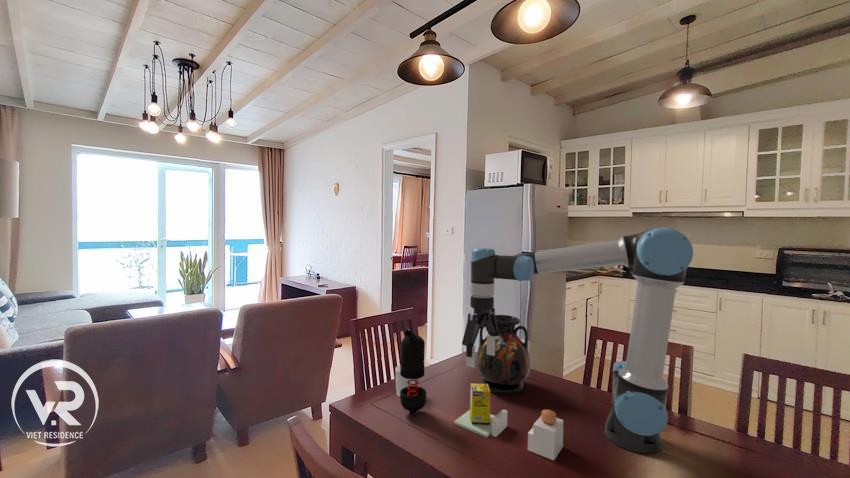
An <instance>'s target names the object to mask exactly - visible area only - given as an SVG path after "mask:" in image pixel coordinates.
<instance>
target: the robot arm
mask: <svg viewBox="0 0 850 478" xmlns="http://www.w3.org/2000/svg"><path fill="white" fill-rule="evenodd" d="M693 256H694V248H693V244H692V243H691V240H690V239H689V238H688V237H687V236H686V235H685V234H684V233H683V232H680V231H679V230H677V229H674V228H671V227H667V226H666V227H661V226H660V227H655V228H650V229H647V230H644V231H641V232H638V233H634V234H629V235H623V236H622V235H621V236H620V238H619V239H618V240H610V241H601V242H597V243H596V242H595V243H590V244H587V243H586V244H582V245H581V244H579V245H576V246H567V247H559V248H551V249H546V250H539V251H531V252H521V253H516V254H515V255H500V254H496V251H495V249H494V248H488V247H487V248H486V247H485V248H484V247H483V248H481V247H475V248H473V250H471V260H470V295H471V296H470V303H469V304H470V305H469V306H470V307H471V308H472V309H473V313H470V312H469V313H468V315H467V323H466V326H465V331H464V334H463V339H462V342H461V345H462V346H465V347H466V350H465V351H466V353H465V359H466V360H465V366H466V367H469V368H473V369H474V368H476V346H475V343H476V340H477V338H478V335H479V333H480V328H482V326H483V325H484V326H485V327H484V328H485V329H486V332H487V335H486V336H487V354H488V355H492V356H495V336H498V331H499V330H498V325H497V321H496V317H495V315H496V312H495V311H496V309H495V297H494V295H495V279H497V280H498V279H499V280H500V279H501V280H511V281H513V280H514V281H519V282H522V281H523V282H524V281H527V282H529V281H531V280H533V278H534V277H533V276H534V275H538V274H547V273H557V272H566V271H576V270H584V269H594V268H603V267H604V268H605V267H612V266H613V267H614V266H621V265H623V266H624V267H626V268H632V274H631V275H632V276H633V277H634V279H635V280H636V281H637V285H636V292H635V300H634V307H633V313H632V314H633V315H632V320H631V327H630V332H629V333H630V334H629V340H628V341H629V342H628V348H627V355H626V360H620V361H619V360H618V361H615V362H614V363H613V369H612V394H611V399H612V400H611V410H610V412H609V415H608V416H607V419H606V422H605V424H604V434H605V436H606V437H607V439H608V440H610V442H612V443H613V444H615V445H616V446H619V447H621V448H623V449H626V450H628V451H632V452H635V453H638V454H647V455H648V454H649V455H650V454H657V453H659V452H661V450H663V437H662V434H661V432H662V431H664V430H665V428H666V426H667V424H668V419H669V415H668V411H667V408H666V406H667V399H668V393H669V391H668V390H669V384H668V382H667V381H666V380H665V378H664V372H665V371H664V369H665V363H666V357H667V349H668V343H669V337H670V332H671V326H672V325H671V324H672V318H673V311H674V305H675V297H676V292H677V288H679V287H680V286H683V285H684V284H685V281H686V275H687V274H686V273H687V269H688V267H689V266H690V264H691V263H692V260H693V258H694V257H693ZM494 328H495V329H494ZM488 334H489V335H488Z"/></svg>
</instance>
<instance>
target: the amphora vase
mask: <svg viewBox="0 0 850 478" xmlns="http://www.w3.org/2000/svg"><path fill="white" fill-rule="evenodd" d="M495 317H496V321H497V325H498V330H499V331H498V336H495V356H492V355H488V354H487V335H489V334H488V333H487V335H486V336H485V338H483V332H484V328H485V326H484V325H483V326H482V328H480V330H479V341H478V342H479V343H478V349H477V351H476V354H475V366H476V367H477V371H478V372H479V374H480V376H481V377H482V379H481V384H488V386H489V389H490V392H492V393H493V394H498V395H515V394H518V393H520V392H521V391H522V390H523V389H524V383H523V382H524V381H525V380H526V379H527V377H528V376H529V374H530V372H531V364H532V363H531V357H530V353H529V334H528V329H527V328H526V327H525V326H524V325H519V324H520V323H521V319H520V318H518V317H516V316H514V315H507V314H495ZM494 329H495V328H494ZM519 330H523V333H524V341H522V339H521V338H520V337H519V336H518V331H519Z"/></svg>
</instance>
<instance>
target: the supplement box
mask: <svg viewBox="0 0 850 478" xmlns="http://www.w3.org/2000/svg"><path fill="white" fill-rule="evenodd" d="M469 387H470V391H469V393H470V395H469V397H470V399H469V410H470V419H471V423H472V424H479V425H490V414H491V391H490V389H489V386H488V384H482V383H471V382H470V386H469Z"/></svg>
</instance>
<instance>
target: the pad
mask: <svg viewBox="0 0 850 478" xmlns="http://www.w3.org/2000/svg"><path fill="white" fill-rule="evenodd" d="M495 416H496V415H494V414H491V413H490V425H479V424H472V423H471V419H470V409H469V410H467V411H466V412H464V413H463V414H461V415H460V416H459V417H458V418H456V419H455V420H454V421H453V425H454V426H457V427H460V428H463V429H464V430H467V431H470V432H472V433H475V434H477V435H479V436H481V437H484V438H486V439H487V438H489V437H490V436H491V433H492V419H493V418H494V417H495Z"/></svg>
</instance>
